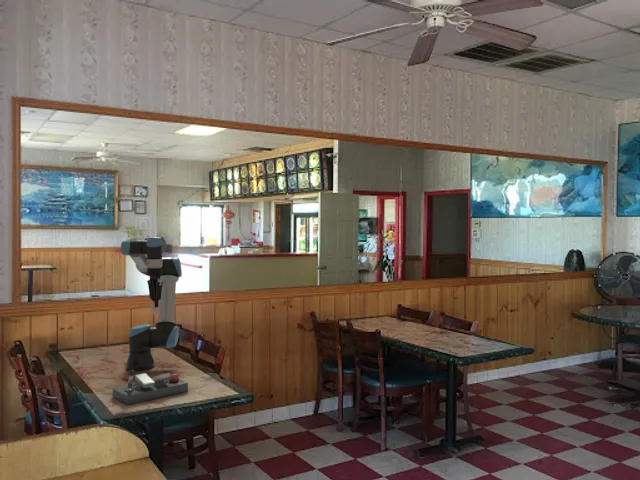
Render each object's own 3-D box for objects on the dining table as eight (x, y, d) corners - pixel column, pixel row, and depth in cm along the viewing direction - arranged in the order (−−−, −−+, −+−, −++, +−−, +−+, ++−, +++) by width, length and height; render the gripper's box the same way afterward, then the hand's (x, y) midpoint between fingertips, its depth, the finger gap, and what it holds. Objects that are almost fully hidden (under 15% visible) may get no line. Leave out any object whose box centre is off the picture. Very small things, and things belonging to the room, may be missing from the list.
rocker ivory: (151, 381, 268) (150, 377, 268) (161, 379, 271) (160, 375, 272) (160, 378, 261) (159, 374, 261) (170, 376, 264) (169, 372, 265)
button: (167, 380, 271) (167, 374, 271) (176, 378, 274) (176, 372, 274) (172, 382, 268) (172, 376, 268) (180, 380, 271) (180, 374, 271)
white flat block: (134, 378, 263) (135, 374, 263) (145, 376, 266) (145, 372, 266) (144, 388, 256) (144, 384, 256) (154, 385, 259) (154, 381, 259)
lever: (125, 387, 256) (128, 369, 253) (130, 385, 258) (134, 368, 255) (127, 390, 254) (130, 372, 251) (133, 389, 256) (136, 371, 253)
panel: (112, 396, 259) (112, 386, 259) (172, 383, 279) (171, 374, 279) (127, 405, 247) (126, 394, 247) (188, 391, 267) (187, 381, 267)
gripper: (142, 267, 288) (142, 312, 289) (153, 268, 278) (154, 315, 279) (155, 266, 293) (156, 310, 294) (167, 267, 283) (168, 313, 284)
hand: (155, 313), depth 286 cm, fingers closed
